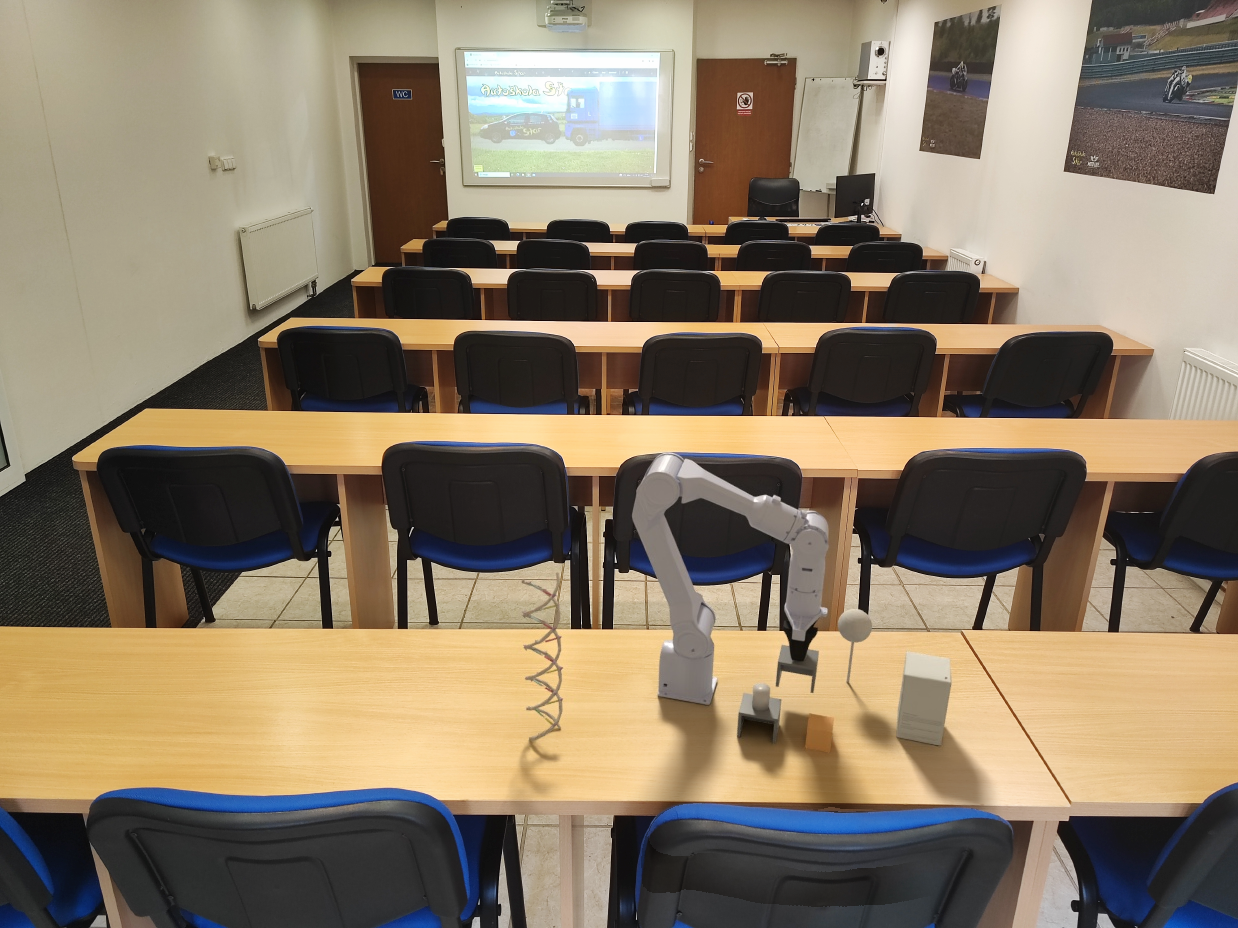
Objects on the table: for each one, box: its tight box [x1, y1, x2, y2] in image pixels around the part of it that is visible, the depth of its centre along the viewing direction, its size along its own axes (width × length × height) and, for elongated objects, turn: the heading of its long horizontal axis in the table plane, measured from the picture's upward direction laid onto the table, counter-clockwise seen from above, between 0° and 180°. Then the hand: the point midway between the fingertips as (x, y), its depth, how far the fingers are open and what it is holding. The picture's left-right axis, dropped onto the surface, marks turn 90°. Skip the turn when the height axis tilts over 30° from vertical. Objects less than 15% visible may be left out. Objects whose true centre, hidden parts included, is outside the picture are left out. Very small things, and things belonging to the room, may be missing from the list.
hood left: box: [736, 682, 782, 745], centre depth 147 cm, size 6×6×8 cm
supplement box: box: [896, 651, 952, 746], centre depth 147 cm, size 7×7×13 cm
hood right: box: [775, 644, 820, 694], centre depth 152 cm, size 6×6×8 cm
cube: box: [804, 713, 835, 753], centre depth 145 cm, size 4×4×4 cm
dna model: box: [521, 571, 564, 741], centre depth 142 cm, size 7×6×30 cm
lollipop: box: [837, 608, 873, 684], centre depth 158 cm, size 6×6×15 cm
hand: (798, 653), depth 151 cm, fingers closed on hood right, 3 cm apart
